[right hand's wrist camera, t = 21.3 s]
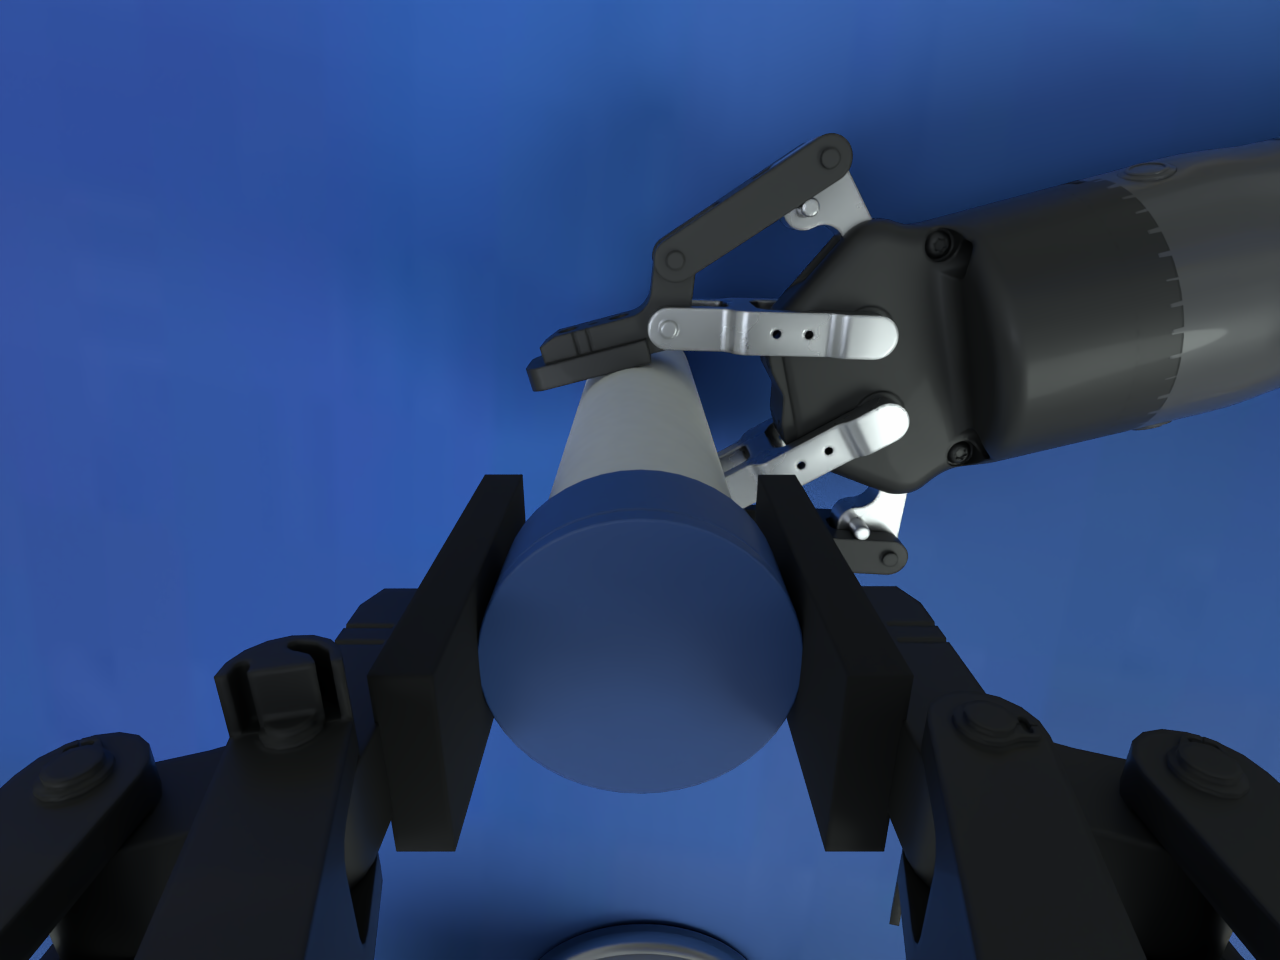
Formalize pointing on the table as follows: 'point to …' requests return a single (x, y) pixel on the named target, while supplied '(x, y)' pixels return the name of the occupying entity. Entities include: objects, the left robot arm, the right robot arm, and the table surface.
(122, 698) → the table surface
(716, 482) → the light grey cylinder
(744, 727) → the lid
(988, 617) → the table surface
